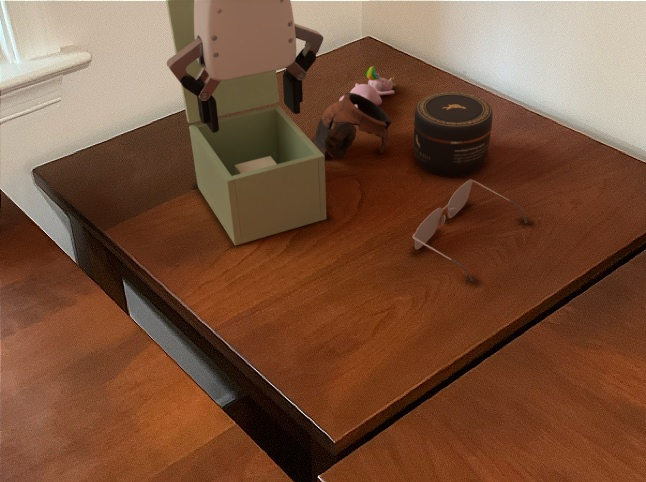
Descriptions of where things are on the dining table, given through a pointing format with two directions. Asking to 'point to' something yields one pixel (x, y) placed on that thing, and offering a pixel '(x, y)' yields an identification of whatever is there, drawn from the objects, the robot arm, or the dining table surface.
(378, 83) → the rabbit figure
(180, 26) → the lid
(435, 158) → the jar
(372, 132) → the brown crumpled piece
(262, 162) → the block
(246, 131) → the chest
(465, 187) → the eyeglasses
